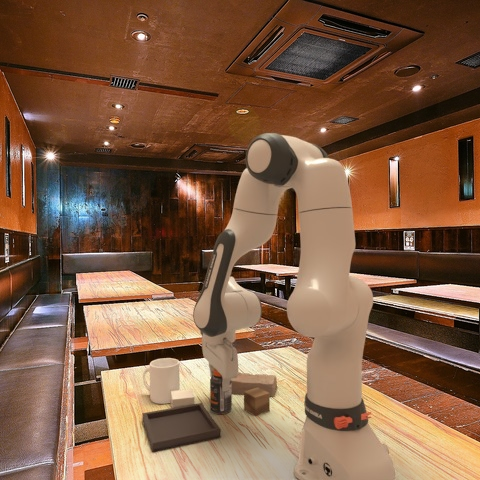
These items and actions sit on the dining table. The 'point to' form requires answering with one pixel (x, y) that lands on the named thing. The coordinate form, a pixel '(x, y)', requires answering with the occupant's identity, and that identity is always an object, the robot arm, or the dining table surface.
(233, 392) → the brick
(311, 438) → the robot arm
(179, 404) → the ceramic block
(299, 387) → the dining table surface
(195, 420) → the tray
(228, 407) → the pill bottle
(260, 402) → the walnut cube
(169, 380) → the mug
